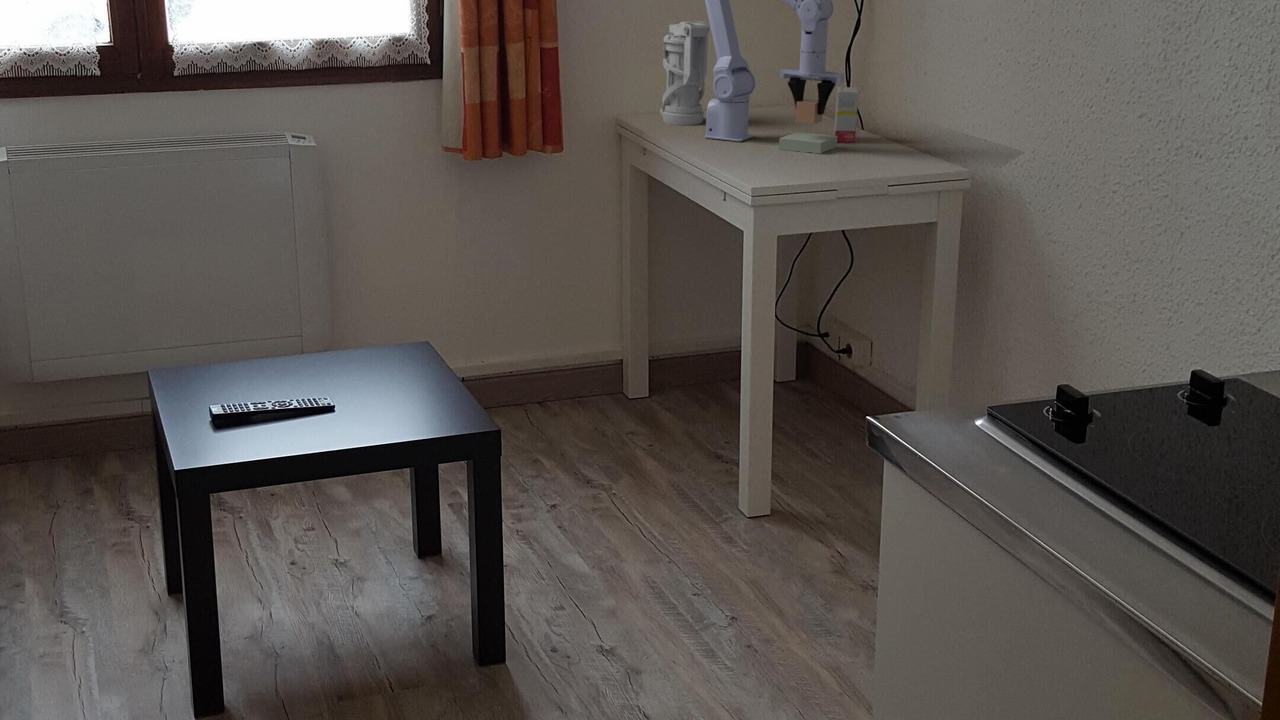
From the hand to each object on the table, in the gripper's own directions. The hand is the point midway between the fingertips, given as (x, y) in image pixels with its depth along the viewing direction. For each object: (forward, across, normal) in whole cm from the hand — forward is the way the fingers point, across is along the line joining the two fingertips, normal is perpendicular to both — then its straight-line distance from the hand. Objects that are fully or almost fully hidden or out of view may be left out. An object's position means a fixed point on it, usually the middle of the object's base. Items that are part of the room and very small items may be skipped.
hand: (810, 113), depth 305 cm
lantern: (+8, -39, +15) cm, 43 cm away
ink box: (+8, +3, +15) cm, 17 cm away
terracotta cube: (+2, 0, 0) cm, 2 cm away
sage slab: (+8, 0, 0) cm, 8 cm away
